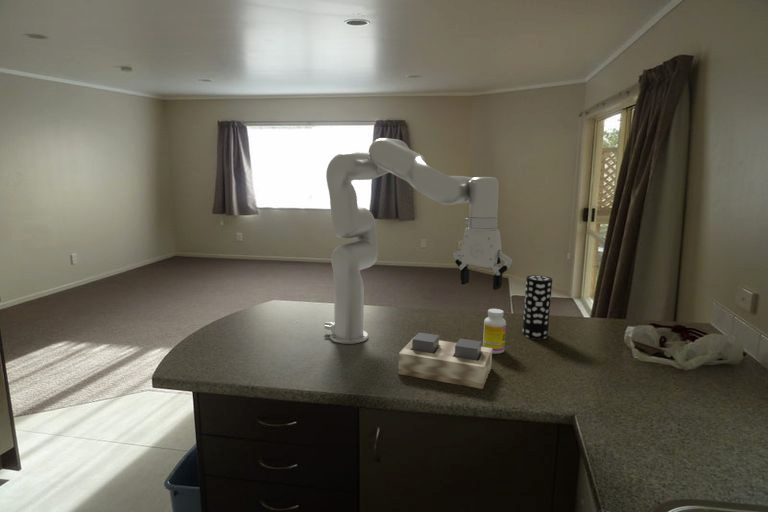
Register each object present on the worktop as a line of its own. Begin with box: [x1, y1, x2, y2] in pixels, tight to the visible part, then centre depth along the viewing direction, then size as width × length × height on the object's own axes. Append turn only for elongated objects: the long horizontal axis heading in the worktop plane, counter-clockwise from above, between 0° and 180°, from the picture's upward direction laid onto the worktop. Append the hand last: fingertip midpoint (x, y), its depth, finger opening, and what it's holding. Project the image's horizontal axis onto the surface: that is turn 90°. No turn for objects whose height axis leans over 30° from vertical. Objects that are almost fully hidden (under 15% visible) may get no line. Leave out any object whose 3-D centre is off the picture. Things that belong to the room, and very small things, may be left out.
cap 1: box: [411, 332, 440, 354], centre depth 134 cm, size 6×6×4 cm
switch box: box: [397, 339, 493, 390], centre depth 133 cm, size 23×14×6 cm, turn 69°
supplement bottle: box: [482, 308, 507, 355], centre depth 148 cm, size 7×7×13 cm
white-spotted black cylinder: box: [522, 274, 553, 340], centre depth 162 cm, size 8×8×20 cm
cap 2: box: [455, 338, 483, 361], centre depth 130 cm, size 6×6×4 cm
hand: (480, 286), depth 130 cm, fingers open, 9 cm apart
